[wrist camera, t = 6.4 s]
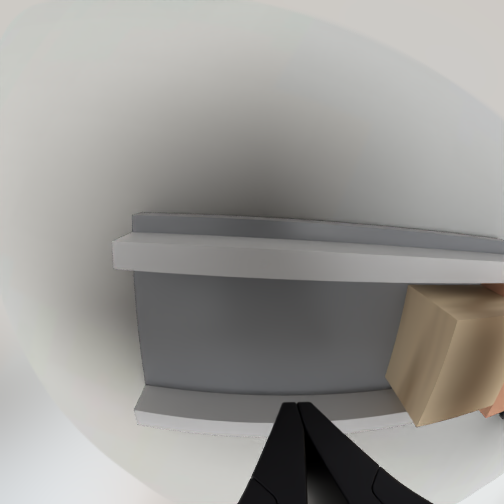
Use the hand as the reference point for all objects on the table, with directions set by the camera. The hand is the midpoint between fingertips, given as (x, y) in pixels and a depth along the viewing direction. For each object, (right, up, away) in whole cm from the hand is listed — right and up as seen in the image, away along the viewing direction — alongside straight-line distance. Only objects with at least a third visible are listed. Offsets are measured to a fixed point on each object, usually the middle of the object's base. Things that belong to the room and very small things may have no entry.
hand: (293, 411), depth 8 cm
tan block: (+8, +1, +5) cm, 10 cm away
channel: (+3, +1, +6) cm, 7 cm away
